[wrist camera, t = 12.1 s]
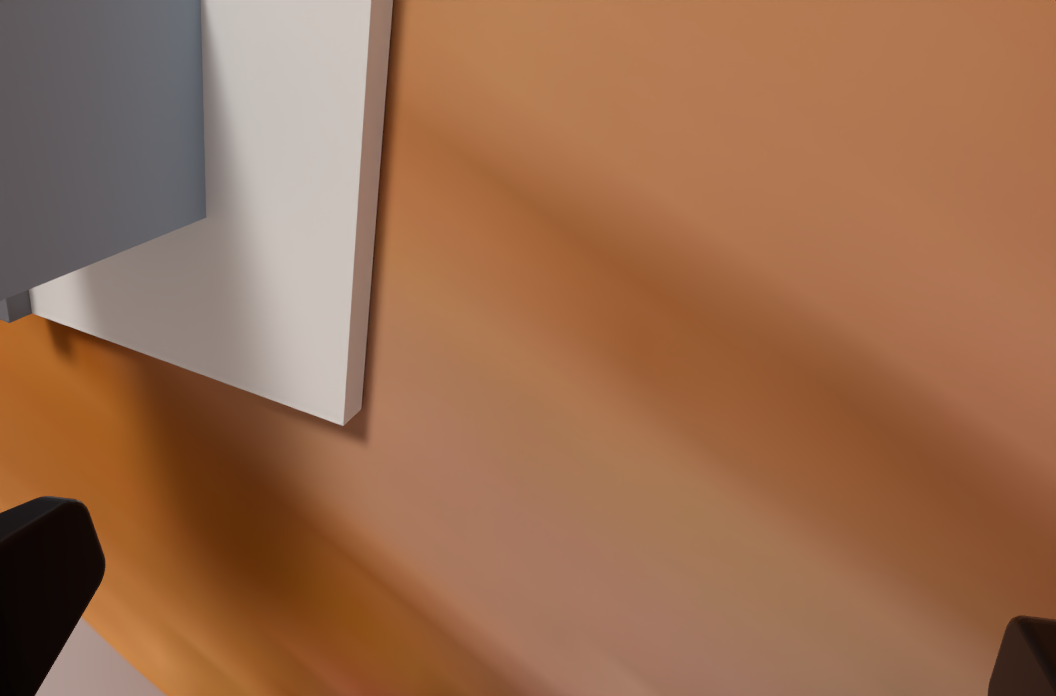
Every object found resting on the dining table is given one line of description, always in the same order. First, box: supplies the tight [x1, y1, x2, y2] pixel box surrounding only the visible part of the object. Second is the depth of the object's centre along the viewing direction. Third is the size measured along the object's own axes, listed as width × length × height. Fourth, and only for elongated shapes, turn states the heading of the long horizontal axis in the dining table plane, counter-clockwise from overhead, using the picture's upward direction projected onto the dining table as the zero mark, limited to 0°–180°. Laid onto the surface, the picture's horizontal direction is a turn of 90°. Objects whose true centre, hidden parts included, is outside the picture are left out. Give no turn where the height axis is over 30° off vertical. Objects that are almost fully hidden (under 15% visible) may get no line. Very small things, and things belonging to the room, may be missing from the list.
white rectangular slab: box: [0, 0, 393, 426], centre depth 21 cm, size 12×16×2 cm
